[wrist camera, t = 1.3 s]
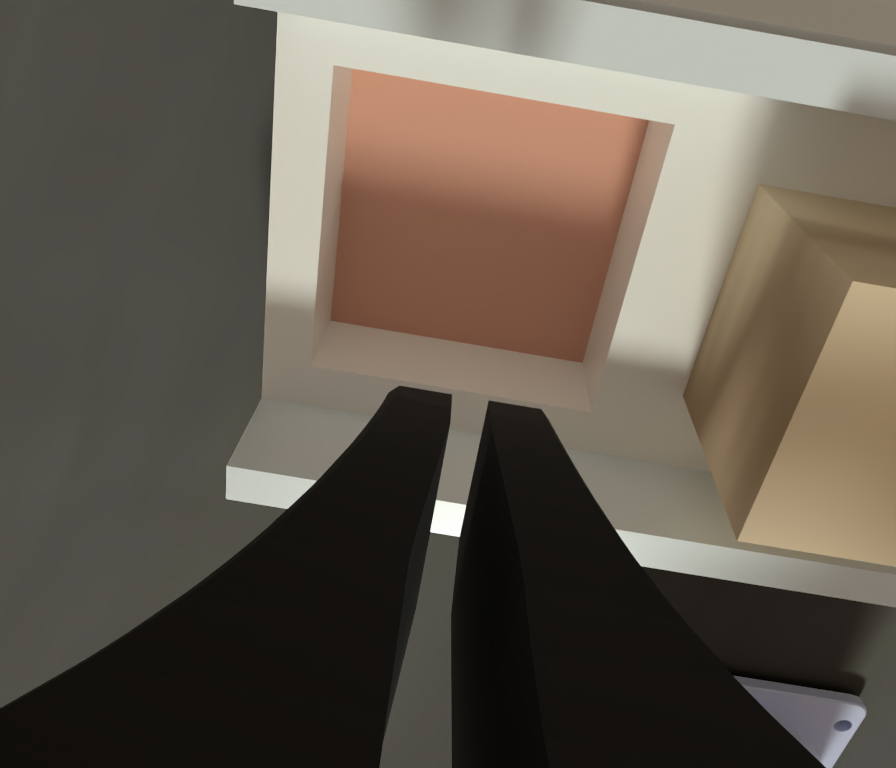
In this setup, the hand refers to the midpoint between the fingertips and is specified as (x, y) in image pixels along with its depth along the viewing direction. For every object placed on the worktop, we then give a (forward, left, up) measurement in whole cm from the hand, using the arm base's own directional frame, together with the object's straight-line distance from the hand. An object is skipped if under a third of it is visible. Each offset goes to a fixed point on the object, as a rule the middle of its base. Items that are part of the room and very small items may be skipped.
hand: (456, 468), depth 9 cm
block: (0, -7, -7) cm, 10 cm away
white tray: (0, -7, -9) cm, 12 cm away
